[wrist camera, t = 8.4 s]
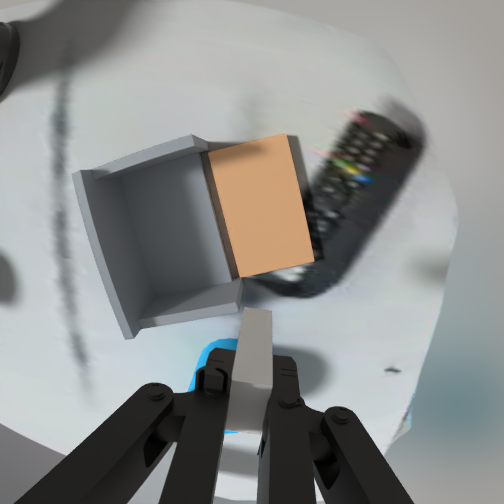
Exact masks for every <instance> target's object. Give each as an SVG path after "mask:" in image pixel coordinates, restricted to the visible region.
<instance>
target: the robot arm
mask: <svg viewBox="0 0 504 504" xmlns="http://www.w3.org/2000/svg"><path fill="white" fill-rule="evenodd" d="M18 51H19V36H18V32H17V30H16V29H15V28H14V27H13V26H11V25H9V24H7V23H4V22H0V95H1V93H2V92H3V90H4V89H5V87H6V85H7V83H8V81H9V79H10V77H11V75H12V72H13V70H14V67H15V64H16V60H17V56H18ZM225 430H228V431H235V432H242V433H250V434H258V435H261V433H262V438H261V442H260V446H259V450H258V453H257V455H259V471H258V488H257V504H316V494H315V484H314V478H315V480H316V483H317V485H318V487H319V490H320V492H321V494H322V497H323V499H324V501H325V503H326V504H414V503H413V501H412V500H411V498H410V496H409V495H408V493H407V492H406V490H405V489H404V487H403V486H402V484H401V483H400V481H399V480H398V478H397V477H396V475H395V474H394V472H393V471H392V469H391V467H390V466H389V464H388V463H387V461H386V460H385V458H384V457H383V455H382V454H381V452H380V451H379V449H378V448H377V446H376V445H375V443H374V441H373V440H372V438H371V437H370V435H369V434H368V432H367V431H366V429H365V428H364V426H363V425H362V423H361V422H360V420H359V419H358V417H357V416H356V414H355V413H354V412H353V411H351V410H349V409H348V408H345V407H341V406H334V407H331V408H328V409H327V410H326V411H325V413H323V412H320V411H316V410H314V409H311V408H309V407H308V406H306V405H305V402H304V400H303V399H302V398H301V397H300V391H299V382H298V374H297V366H296V363H295V361H294V360H293V359H292V357H287V356H279V355H272V311H269V310H262V309H255V308H248V307H244V312H243V317H242V323H241V328H240V334H239V339H238V345H237V350H230V349H224V348H218V347H215V348H214V349H213V350H212V351H210V352H209V355H208V358H207V361H206V365H205V366H203V367H201V368H199V369H198V370H197V371H196V377H195V389H194V390H192V391H190V392H186V393H173V391H172V389H171V388H170V387H168V386H167V385H165V384H161V383H148V384H145V385H143V386H142V387H140V388H139V389H138V390H137V391H136V392H135V393H134V394H133V395H132V396H131V397H130V398H129V399H128V400H127V401H126V402H125V403H124V404H122V405H121V406H120V407H119V408H118V409H117V410H116V411H115V412H114V413H113V414H112V415H111V416H110V417H109V418H108V419H106V420H105V421H104V422H103V423H102V424H101V425H100V426H99V427H98V428H97V429H96V430H95V431H94V432H92V433H91V434H90V435H89V436H88V437H87V438H86V439H85V440H84V441H83V442H82V443H81V444H79V445H78V446H77V447H76V448H75V449H74V450H73V451H72V452H71V453H70V454H69V455H67V456H66V457H65V458H64V459H63V460H62V461H61V462H60V463H59V464H58V465H56V466H55V467H54V468H53V469H52V470H51V471H50V472H49V473H48V474H47V475H45V476H44V478H42V479H41V480H40V481H39V482H38V483H37V484H35V485H34V486H33V487H32V488H31V489H30V490H29V491H28V492H26V493H25V494H24V495H23V496H22V497H21V498H20V499H18V500H17V501H16V502H15V503H14V504H127V503H128V502H129V501H130V500H131V498H132V497H133V496H134V495H135V493H136V492H137V491H138V489H139V488H140V487H141V486H142V484H143V483H144V482H145V481H146V479H147V478H148V477H149V475H150V474H151V473H152V471H153V470H154V469H155V467H156V466H157V465H158V464H159V462H160V461H161V460H162V458H163V457H164V456H165V454H166V453H167V452H168V450H169V449H170V448H171V446H172V445H173V443H174V442H178V443H177V446H176V449H175V452H174V455H173V458H172V461H171V464H170V468H169V471H168V474H167V477H166V480H165V483H164V487H163V490H162V493H161V496H160V499H159V503H158V504H213V499H214V493H215V487H216V481H217V475H218V469H219V464H220V458H221V452H222V446H223V440H224V433H225Z"/></svg>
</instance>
